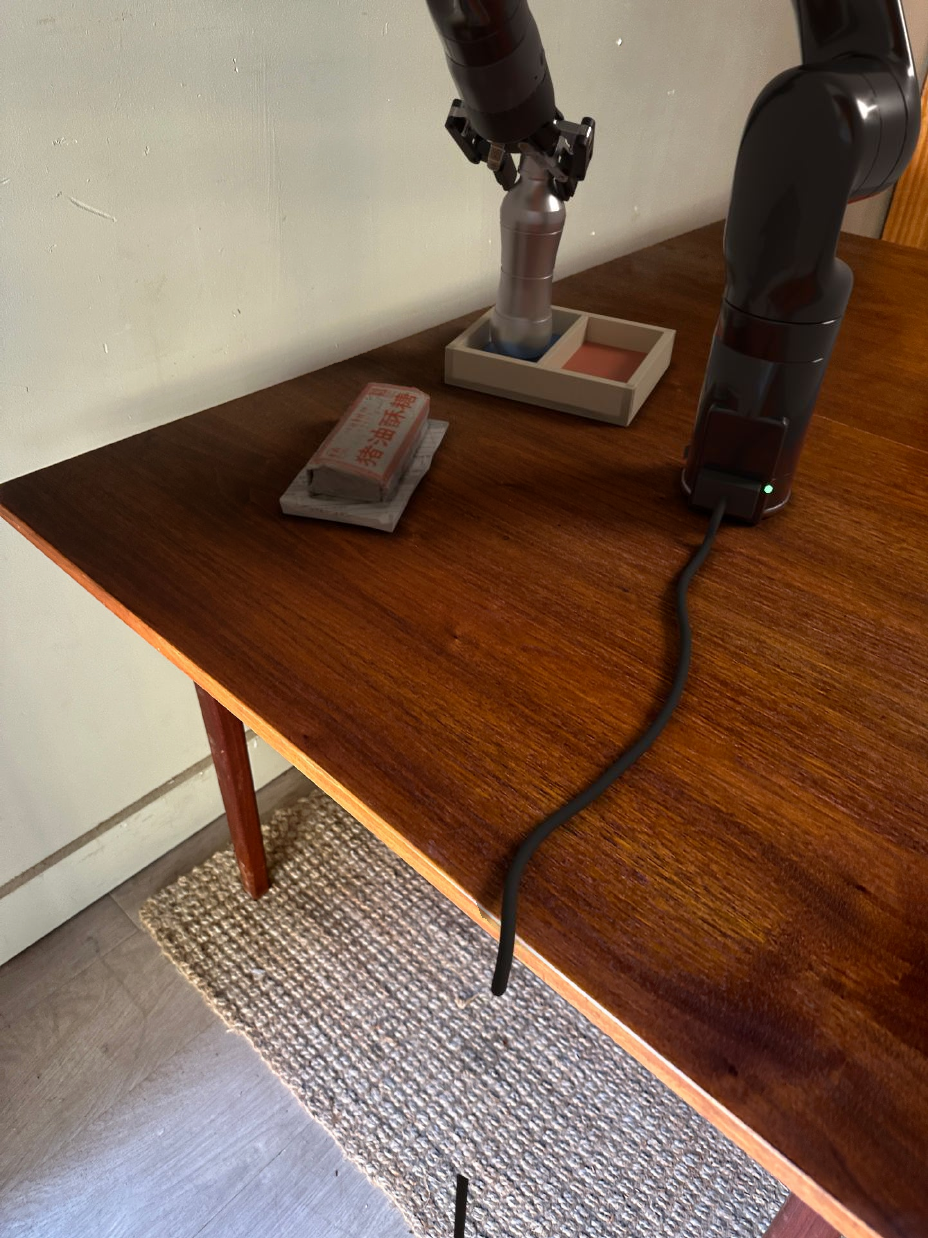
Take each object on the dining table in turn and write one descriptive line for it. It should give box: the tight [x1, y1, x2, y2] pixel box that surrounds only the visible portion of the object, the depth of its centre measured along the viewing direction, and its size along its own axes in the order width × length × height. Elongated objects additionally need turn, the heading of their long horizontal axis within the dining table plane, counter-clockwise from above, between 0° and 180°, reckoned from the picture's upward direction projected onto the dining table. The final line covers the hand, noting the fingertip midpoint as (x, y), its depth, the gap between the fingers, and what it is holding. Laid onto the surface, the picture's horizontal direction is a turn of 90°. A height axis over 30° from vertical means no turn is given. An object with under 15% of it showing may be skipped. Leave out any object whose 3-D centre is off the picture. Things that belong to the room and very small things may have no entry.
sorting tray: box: [444, 304, 677, 427], centre depth 97 cm, size 16×20×4 cm
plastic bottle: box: [490, 154, 567, 359], centre depth 92 cm, size 6×7×20 cm
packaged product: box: [279, 381, 450, 533], centre depth 80 cm, size 18×5×10 cm
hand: (539, 187), depth 90 cm, fingers closed on plastic bottle, 5 cm apart
